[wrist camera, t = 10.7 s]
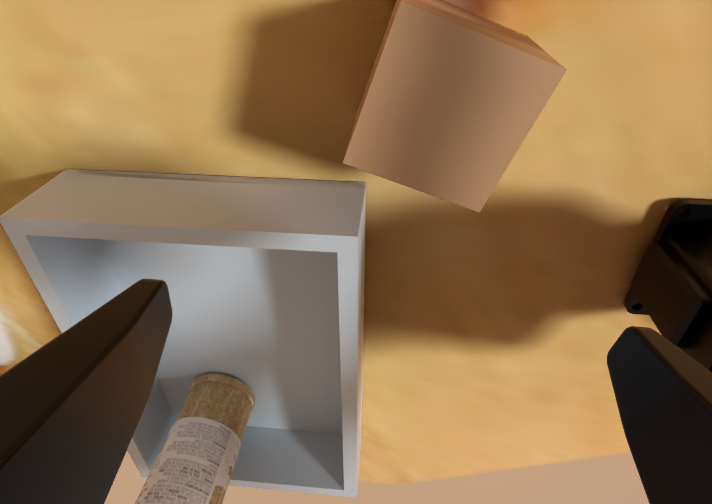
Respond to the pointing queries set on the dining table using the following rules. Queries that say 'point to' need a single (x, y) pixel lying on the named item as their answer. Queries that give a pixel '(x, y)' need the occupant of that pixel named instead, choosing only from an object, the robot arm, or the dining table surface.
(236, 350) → the tray
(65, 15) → the dining table surface
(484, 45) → the walnut cube
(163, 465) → the sprinkles bottle
